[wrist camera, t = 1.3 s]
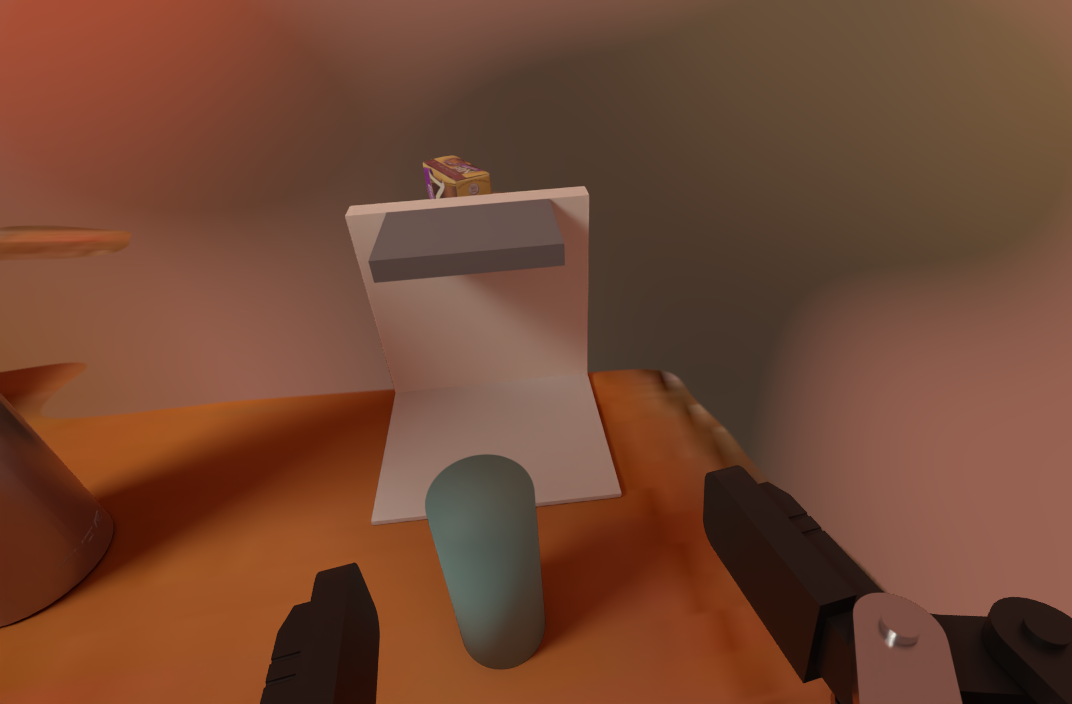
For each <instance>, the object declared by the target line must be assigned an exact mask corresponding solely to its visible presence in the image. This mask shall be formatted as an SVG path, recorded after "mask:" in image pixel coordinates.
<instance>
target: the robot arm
mask: <svg viewBox="0 0 1072 704" xmlns="http://www.w3.org/2000/svg"><path fill="white" fill-rule="evenodd" d="M703 523H704V528H705V532H706V535H707V538H708V540H709V542H710V544H711V546H712V547H713V549H714V550H715V552H716V553H717V555H718V556H719V558H720V559H721V561H722V562H723V564H724V565H725V567H726V568H727V570H728V571H729V573H730V574H731V576H732V577H733V579H734V580H735V582H736V583H737V585H738V586H739V588H740V589H741V591H742V592H743V594H744V595H745V597H746V598H747V600H748V601H749V603H750V604H751V606H752V607H753V609H754V610H755V612H756V613H757V615H758V616H759V618H760V619H761V621H762V622H763V624H764V625H765V627H766V628H767V630H768V631H769V633H770V634H771V636H772V637H773V639H774V640H775V642H776V643H777V645H778V646H779V648H780V649H781V651H782V652H783V654H784V655H785V657H786V658H787V660H788V661H789V663H790V664H791V665H792V667H793V668H794V670H795V671H796V673H797V674H798V676H799V677H800V679H801V680H802V682H803V683H806V682H809V681H812V680H815V679H818V678H821V677H822V678H823V679H824V681H825V682H826V684H827V685H828V686H829V688H830V689H831V691H832V693H831V704H1072V618H1071V617H1069V616H1068V615H1066V614H1065V613H1063V612H1061V611H1059V610H1057V609H1056V608H1053V607H1051V606H1049V605H1047V604H1044V603H1041V602H1038V601H1035V600H1031V599H1027V598H1020V597H1008V598H1003V599H1000V600H998V601H997V602H996V603H994V604H993V606H992V607H991V609H990V612H989V614H988V616H987V617H982V616H957V615H956V616H955V615H937V614H930V613H928V612H927V611H926V610H924V609H923V608H922V607H920V606H919V605H917V604H916V603H914V602H912V601H910V600H908V599H905V598H903V597H900V596H897V595H894V594H889V593H884V592H883V591H882V590H881V589H880V588H879V587H878V586H877V585H876V584H875V583H874V582H873V581H872V580H871V579H870V578H869V577H868V576H867V575H866V574H865V573H864V572H863V571H862V570H861V569H860V568H859V567H858V565H857V564H856V563H855V562H854V561H853V560H852V559H851V558H850V557H849V556H848V555H847V554H846V553H845V552H844V551H843V550H842V549H841V548H840V547H839V546H838V545H837V543H836V542H835V541H834V540H833V539H832V538H831V537H830V536H829V535H828V534H827V533H826V532H825V531H822V530H821V527H820V526H819V525H818V524H817V522H816V521H815V520H814V519H813V518H812V517H811V516H808V515H807V512H806V511H805V510H804V509H803V508H802V507H801V506H800V505H799V504H798V503H797V502H796V501H795V499H794V498H793V497H792V496H791V495H789V494H788V493H786V492H784V491H783V490H781V489H779V488H777V487H776V486H774V485H772V484H770V483H769V482H765V483H761V484H757V483H756V481H755V480H754V479H753V478H752V477H751V476H750V475H749V474H748V473H747V471H746V470H745V469H744V468H742V467H741V466H738V465H736V466H732V467H729V468H725V469H721V470H717V471H713V472H709V473H707V474H706V476H705V486H704V510H703ZM113 532H114V529H113V521H112V519H111V517H110V515H109V514H108V512H107V511H106V510H105V509H104V508H103V507H102V506H101V505H100V504H99V502H98V501H97V500H96V499H95V498H94V497H93V496H92V495H91V493H90V492H89V491H88V490H87V489H86V488H85V487H84V486H83V485H82V483H81V482H80V481H79V480H78V479H77V477H76V476H75V475H74V474H73V473H72V472H71V471H70V470H69V469H68V467H67V466H66V465H65V464H64V463H63V462H62V461H61V460H60V458H59V457H58V456H57V455H56V454H55V453H54V452H53V451H52V450H51V448H50V447H49V446H48V445H47V444H46V443H45V442H44V441H43V440H42V438H41V437H40V436H39V435H38V434H37V433H36V432H35V431H34V430H33V428H32V427H31V426H30V425H29V424H28V423H27V422H26V421H25V419H24V418H23V417H22V416H21V415H20V414H19V413H18V412H17V411H16V409H15V408H14V407H13V406H12V405H11V404H10V403H9V402H8V401H7V399H6V398H5V397H4V396H3V395H2V394H1V393H0V627H1V626H5V625H8V624H11V623H14V622H16V621H18V620H21V619H23V618H26V617H28V616H30V615H32V614H34V613H36V612H37V611H39V610H41V609H43V608H45V607H47V606H48V605H50V604H51V603H53V602H54V601H56V600H57V599H59V598H60V597H62V596H63V595H64V594H66V593H67V592H68V591H70V590H71V589H72V588H73V587H74V586H76V585H77V584H78V583H79V582H80V581H81V580H82V579H83V578H84V577H85V576H86V575H87V574H88V573H89V572H90V571H91V570H92V569H93V568H94V567H95V566H96V564H97V563H98V562H99V560H100V559H101V558H102V556H103V555H104V554H105V552H106V550H107V548H108V546H109V544H110V542H111V539H112V535H113ZM379 640H380V631H379V621H378V615H377V611H376V608H375V605H374V602H373V600H372V598H371V595H370V593H369V591H368V588H367V586H366V583H365V581H364V579H363V576H362V574H361V571H360V569H359V567H358V565H357V564H356V563H351V564H347V565H344V566H340V567H336V568H332V569H328V570H324V571H320V572H318V573H317V575H316V578H315V582H314V587H313V592H312V597H311V601H310V602H306V603H303V604H299V605H295V606H294V607H293V608H292V610H291V612H290V613H289V615H288V616H287V618H286V620H285V621H284V623H283V624H282V626H281V628H280V629H279V631H278V633H277V637H276V641H275V645H274V649H273V653H272V657H271V660H272V663H271V664H270V665H269V669H268V674H267V678H266V687H265V688H264V690H263V694H262V698H261V702H260V704H376V692H377V675H378V657H379Z"/></svg>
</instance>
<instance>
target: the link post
mask: <svg viewBox="0 0 1072 704" xmlns="http://www.w3.org/2000/svg"><path fill="white" fill-rule="evenodd" d="M425 511H426V516H427V519H428V523H429V526H430V529H431V533H432V536H433V540H434V543H435V547H436V550H437V553H438V557H439V560H440V564H441V567H442V571H443V574H444V578H445V581H446V584H447V588H448V591H449V595H450V598H451V602H452V605H453V608H454V612H455V615H456V619H457V622H458V626H459V629H460V633H461V636H462V639H463V643H464V646H465V648H466V650H467V651H468V653H469V654H470V656H471V657H472V658H473V659H474V660H475V661H477V662H478V663H480V664H481V665H483V666H485V667H488V668H492V669H508V668H513V667H515V666H518V665H520V664H522V663H523V662H525V661H526V660H528V659H529V658H530V657H531V656H532V655H533V654H534V653H535V651H536V650H537V649H538V647H539V645H540V643H541V641H542V639H543V636H544V631H545V612H544V600H543V587H542V575H541V563H540V551H539V538H538V526H537V514H536V502H535V489H534V484H533V482H532V479H531V477H530V475H529V474H528V472H527V471H526V470H525V469H524V468H523V467H522V466H521V465H520V464H518V463H517V462H515V461H513V460H511V459H509V458H506V457H503V456H499V455H493V454H481V455H474V456H470V457H466V458H463V459H461V460H458V461H456V462H454V463H452V464H451V465H449V466H448V467H446V468H445V469H444V470H443V471H441V472H440V473H439V474H438V475H437V477H436V478H435V479H434V480H433V482H432V483H431V485H430V487H429V489H428V492H427V495H426V499H425Z"/></svg>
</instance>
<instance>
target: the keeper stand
mask: <svg viewBox="0 0 1072 704" xmlns="http://www.w3.org/2000/svg"><path fill="white" fill-rule="evenodd" d="M345 217H346V221H347V224H348V228H349V232H350V235H351V239H352V242H353V245H354V249H355V253H356V256H357V260H358V263H359V267H360V270H361V273H362V277H363V281H364V284H365V288H366V291H367V294H368V298H369V302H370V305H371V308H372V312H373V316H374V319H375V323H376V326H377V330H378V333H379V337H380V340H381V344H382V347H383V350H384V354H385V358H386V361H387V365H388V368H389V372H390V375H391V379H392V382H393V386H394V389H395V398H394V404H393V409H392V414H391V419H390V425H389V430H388V435H387V440H386V446H385V451H384V456H383V462H382V467H381V472H380V477H379V483H378V488H377V493H376V499H375V504H374V509H373V514H372V520H371V523H372V525H379V524H388V523H396V522H405V521H414V520H423V519H427V516H426V511H425V499H426V495H427V492H428V489H429V487H430V485H431V483H432V482H433V480H434V479H435V478H436V477H437V475H438V474H439V473H440V472H441V471H443V470H444V469H445V468H446V467H448V466H449V465H451V464H452V463H454V462H456V461H458V460H461V459H463V458H466V457H470V456H474V455H481V454H493V455H499V456H503V457H506V458H509V459H511V460H513V461H515V462H517V463H518V464H520V465H521V466H522V467H523V468H524V469H525V470H526V471H527V472H528V474H529V475H530V477H531V479H532V482H533V484H534V489H535V502H536V506H545V505H554V504H563V503H571V502H580V501H589V500H598V499H606V498H615V497H621V494H622V493H621V490H620V486H619V483H618V479H617V476H616V472H615V469H614V465H613V462H612V458H611V455H610V451H609V448H608V444H607V441H606V437H605V434H604V430H603V427H602V423H601V420H600V416H599V413H598V409H597V406H596V402H595V399H594V395H593V392H592V388H591V385H590V381H589V377H588V374H587V349H588V346H587V345H588V344H587V343H588V342H587V341H588V250H589V249H588V247H589V194H588V192H587V190H586V188H585V187H584V186H582V187H570V188H558V189H546V190H534V191H523V192H510V193H499V194H487V195H475V196H463V197H452V198H440V199H428V200H416V201H406V202H394V203H381V204H369V205H357V206H350V208H349V210H348V212H347V213H346V215H345Z"/></svg>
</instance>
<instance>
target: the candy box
mask: <svg viewBox="0 0 1072 704" xmlns="http://www.w3.org/2000/svg"><path fill="white" fill-rule="evenodd" d="M423 167H424V173H425V178H426V185H427V191H428V197H429V199H440V198H452V197H463V196H475V195H487V194H491V183H490V175H489V173H487V172H485V171H484V170H482V169H480V168H477V167H475V166H474V165H472V164H470V163H468V162H466V161H464V160H462V159H460V158H458V157H456V156H444V157H440V158H436V159H432V160H429V161H425V162H423Z"/></svg>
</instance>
